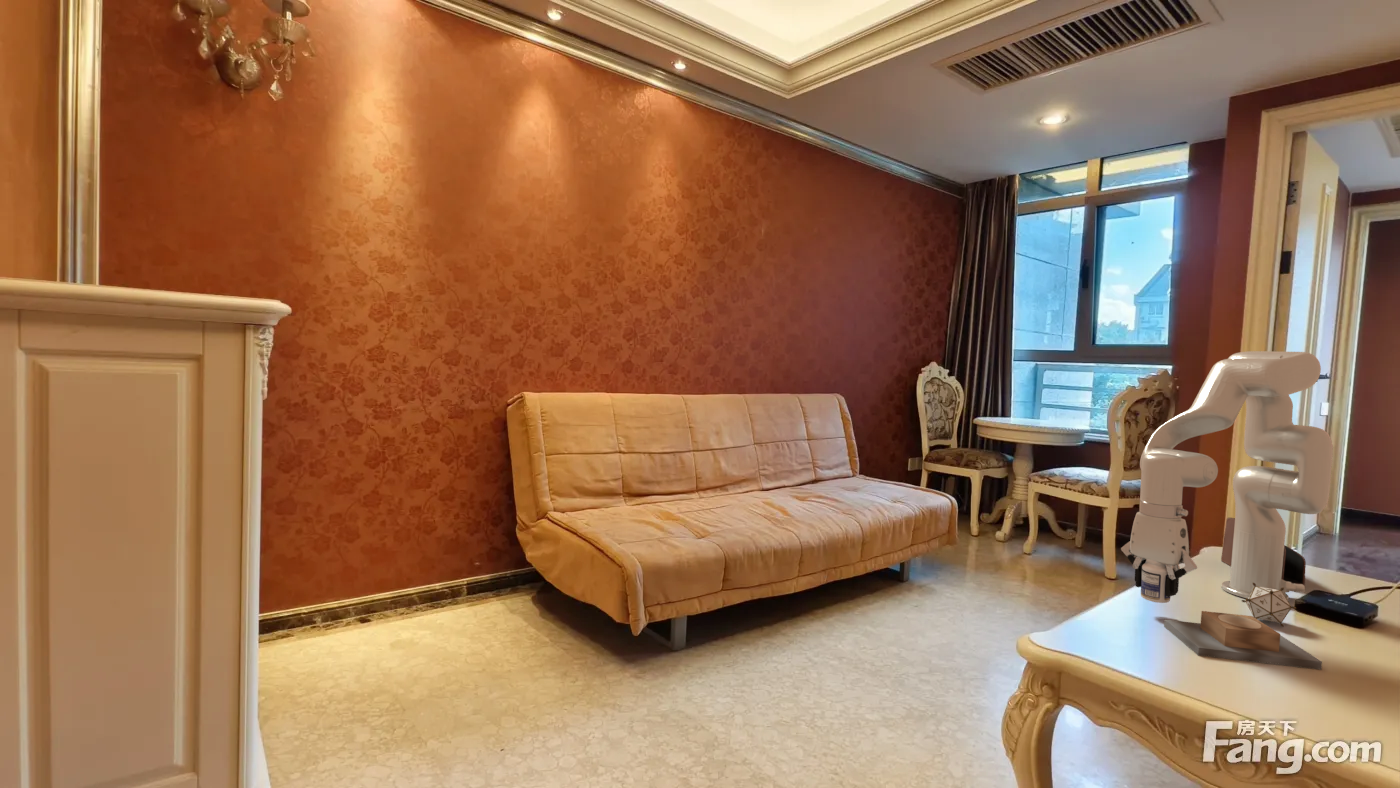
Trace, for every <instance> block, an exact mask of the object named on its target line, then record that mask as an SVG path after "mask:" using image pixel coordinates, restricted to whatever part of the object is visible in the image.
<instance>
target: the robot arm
mask: <svg viewBox="0 0 1400 788" xmlns="http://www.w3.org/2000/svg"><path fill="white" fill-rule="evenodd" d="M1321 370H1322V367H1321V363H1320V361H1319V359H1318V357H1317V356H1316V355H1314V354H1312V353H1310V352H1306V351H1271V350H1269V351H1267V350H1266V351H1265V350H1263V351H1261V350H1258V351H1257V350H1256V351H1255V350H1254V351H1253V350H1252V351H1251V350H1249V351H1241V352H1235V353H1233V354H1231V355H1230V356H1229V357H1228V358H1224V359H1222V360H1219V361H1217V362H1216V363H1214V364H1213V366H1212V367H1211V368H1210V371H1209V373H1208V374H1207V376H1206V378H1205V380H1204V382H1203V383H1202V385H1201V387H1200V389H1199V391H1198V393H1197V395H1196V397H1195V398H1194V401H1193V402H1192V405H1191V406H1190V407H1189V409H1187V410H1185V411H1183V412H1182V413H1179V414H1177V415H1175V416H1174V417H1172V418H1170V419H1169V420H1168V421H1166V422H1164V423H1163V424H1161V425H1160V426H1159V427H1158V428H1156V430H1155V431H1153V433H1152V434H1151V435H1150V438H1149V439H1148V441H1147V443H1146V445H1145V447H1144V449H1143V451H1142V453H1141V457H1140V459H1139V467H1140V470H1141V475H1140V491H1139V492H1140V494H1139V495H1140V497H1139V510H1138V511H1137V512H1136V514H1135V517H1134V520H1133V523H1132V528H1131V533H1130V541H1128V542H1126V543H1125V544H1124V545H1123V546H1122V547H1120V550H1121V552H1123V554H1124V555H1125V556H1126V557H1127V559H1128V560H1129V562H1130V563H1131V565H1132V568H1133V569H1134V582H1135V587H1136V588H1141V579H1142V565H1143V564H1144V563H1147V561H1146V559H1150V560H1154V561H1156V562H1159V563H1162V564H1165V565H1166V568H1167V572H1168V575H1169V578H1166V585H1165V595H1166V596H1168V597H1170V598H1171V597H1174V596H1176V595H1177V594H1178V593H1179V583H1180V582H1179V581H1180V578H1182V577H1183V576H1186V575H1187V574H1189V573H1190V572H1191V573H1192V572H1193V571H1195V570H1197V569H1198V566H1197V564H1196V563H1195V562H1194V560H1193V559H1192V557H1191V556H1190V549H1189V548H1190V545H1189V544H1190V541H1189V532H1188V531H1189V530H1188V525H1187V522H1186V521H1187V520H1186V519H1185V518H1182V517H1187V516H1188V515H1189V511H1188V510H1187V509H1184V508H1183V506H1184V505H1182V504H1183V491H1184V490H1183V489H1184V487H1190V488H1203V487H1206V486H1209V485H1211V484H1212V483H1213V482H1214V481H1215V480H1216V479H1217V477H1218V473H1219V468H1218V465H1217V462H1216V461H1215V460H1214V458H1212V457H1210V456H1209V455H1206V454H1203V453H1198V452H1193V451H1185V450H1178V449H1174V448H1175V447H1176V446H1177V445H1178V444H1181V443H1182V442H1184V441H1186V440H1189V439H1191V438H1195V437H1198V436H1203V435H1204V436H1205V435H1208V434H1213V433H1215V432H1219V431H1223V430H1227V429H1228V428H1230V427H1232V426H1233V424H1234V423H1235V421H1236V419H1237V417H1238V415H1239V413H1240V412H1241V410H1242V408H1243V406H1244V405H1245V404H1246V405H1245V406H1246V407H1245V408H1246V409H1245V410H1246V411H1245V422H1244V423H1245V424H1244V425H1245V426H1244V438H1243V440H1244V441H1243V446H1244V447H1243V448H1244V452H1245V454H1246V455H1247V457H1250V458H1251V459H1253V460H1258V461H1262V462H1268V463H1274V464H1275V463H1276V464H1282V465H1290V466H1296V467H1297V471H1296V470H1289V469H1283V468H1277V467H1270V466H1261V465H1247V466H1243V467H1241V468H1240V469H1239V468H1238V470H1237V471H1236V472H1235V473H1234V476H1233V479H1232V489H1233V490H1232V491H1233V496H1234V497H1233V498H1234V506H1235V508H1234V509H1235V510H1234V511H1235V516H1234V518H1235V527H1234V538H1233V551H1232V563H1231V566H1230V576H1229V577H1230V578H1229V580H1226V581H1222V582H1221V588H1222V590H1224V591H1225V592H1227V593H1229V594H1230V595H1231V594H1232V595H1233V596H1237V597H1240V598H1242V599H1243V598H1244V599H1246V598H1248V596H1249V594H1250V593H1251V591H1252V590H1253V588H1254V585H1253V583H1255V584H1256V586H1260V587H1266V588H1272V589H1278V590H1280V589H1281V588H1283V587H1284V590H1282V592H1283V594H1284V595H1285V597H1286V599H1287V600H1288V601H1289V595H1288V594H1287V593H1289V592H1294V593H1305V592H1306V588H1305V587H1306V586H1304V585H1302V584H1291V582H1286V581H1284V580H1282V579H1281V578H1282V566H1283V555H1284V545H1285V543H1286V533H1287V531H1286V524H1285V521H1284V519H1283V517H1282V516H1281V514H1280V513H1279V511H1278V510H1283V511H1288V512H1293V513H1299V514H1306V515H1317V514H1320V513H1322V512H1323V511H1324V510H1325V509H1326V508H1327V505H1328V502H1329V498H1330V490H1331V479H1332V467H1333V466H1332V465H1333V456H1334V452H1333V451H1334V447H1333V441H1332V438H1331V437H1330V435H1329V433H1328V432H1327V431H1325V429H1323V428H1320V427H1317V426H1310V425H1303V424H1302V425H1300V424H1294V422H1293V409H1294V405H1293V400H1292V399H1291V396H1290V395H1292V394H1295V393H1299V392H1302V391H1306V390H1307V389H1309V388H1311V387H1312V386H1314V385H1315V384H1316V382H1317V381H1318V380H1319V378H1320V376H1321ZM1180 564H1184V566H1183V567H1180Z"/></svg>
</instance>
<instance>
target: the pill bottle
mask: <svg viewBox="0 0 1400 788" xmlns="http://www.w3.org/2000/svg"><path fill="white" fill-rule="evenodd" d="M1146 561H1147V563H1144V564H1143V565H1142V579H1141V587H1140V597H1141V598H1143V599H1144V600H1146V601H1149V602H1153V603H1157V604H1158V603H1160V604H1164V603H1166V604H1167V603H1169V602H1170V601H1171V596H1170V597H1168V596H1166V595H1165V585H1166V578H1169V575H1168V572H1167V568H1166V565H1165V564H1162V563H1159V562H1156V561H1154V560H1150V559H1146Z"/></svg>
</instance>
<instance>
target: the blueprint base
mask: <svg viewBox="0 0 1400 788" xmlns="http://www.w3.org/2000/svg"><path fill="white" fill-rule="evenodd" d="M1200 612H1201V613H1200V614H1201V615H1200V623H1199V622H1193V621H1192V622H1191V621H1179V620H1172V619H1164V624H1163V627H1164V628H1165V629H1166V630H1168V631H1169V633H1171V634H1172V635H1174V636H1175V637H1176V638H1177V639H1178V640H1180V641H1181V643H1183V644H1184V645H1185V646H1186V647H1188V648H1189V649H1190V650H1191V651H1192V652H1193V653H1195V654H1196V655H1197V656H1202V657H1208V658H1209V657H1210V658H1219V659H1226V660H1227V659H1228V660H1234V661H1235V660H1236V661H1243V662H1252V663H1261V664H1269V665H1270V664H1271V665H1279V666H1286V667H1287V666H1288V667H1295V668H1296V667H1297V668H1305V669H1312V670H1314V669H1315V670H1319V671H1321V670H1322V668H1323V667H1322V666H1323V661H1321V659H1319V658H1317V657H1315V656H1314V655H1312V654H1311V653H1309V652H1307V651H1306V650H1304V649H1303V648H1301V647H1299V646H1298V645H1297V644H1295V643H1294V642H1292V641H1290V640H1289V639H1287V638H1286V637H1284V636H1283V635H1281V633H1280V632H1278V631H1276V630H1275V629H1274V628H1272V627H1270V626H1269V625H1267V624H1266V623H1263V622H1262V620H1260V619H1256V618H1254V617H1253V615H1244V614H1235V613H1227V612H1226V613H1225V612H1217V611H1216V612H1215V611H1206V610H1205V611H1204V610H1201V611H1200Z"/></svg>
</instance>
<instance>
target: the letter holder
mask: <svg viewBox="0 0 1400 788" xmlns="http://www.w3.org/2000/svg"><path fill="white" fill-rule="evenodd" d="M1234 527H1235V517H1227V518H1226V522H1225V527H1224V528H1225V529H1224V535H1223V542H1222V544H1223V545H1222V550H1221V551H1222V552H1221V558H1220V560H1221V562H1222V563H1224V564H1226V565H1227V566H1229V567H1231V563H1232V551H1233V538H1234ZM1306 564H1307V562H1306V559H1305V557H1304V556H1303V555H1302V554H1301V553H1299V552H1297V551H1295V550H1294V549H1292V548H1291V547H1289V546H1286V545H1285V544H1284V555H1283V566H1282V578H1281V579H1282V580H1284V581H1286V582H1291V584H1302V585H1304V587H1306V586H1305V585H1306V584H1305V583H1306V566H1307V565H1306Z"/></svg>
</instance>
